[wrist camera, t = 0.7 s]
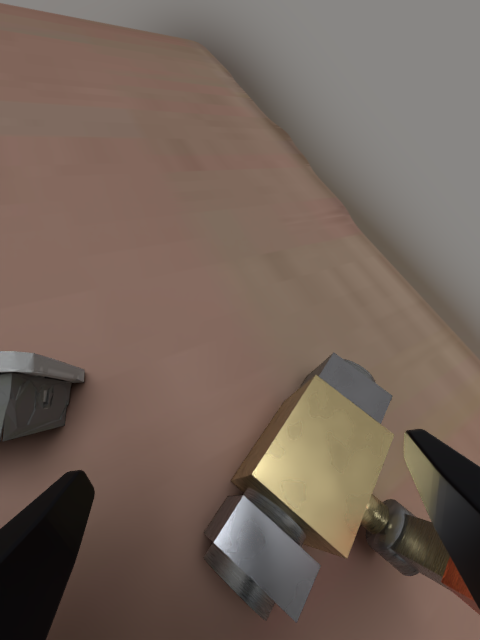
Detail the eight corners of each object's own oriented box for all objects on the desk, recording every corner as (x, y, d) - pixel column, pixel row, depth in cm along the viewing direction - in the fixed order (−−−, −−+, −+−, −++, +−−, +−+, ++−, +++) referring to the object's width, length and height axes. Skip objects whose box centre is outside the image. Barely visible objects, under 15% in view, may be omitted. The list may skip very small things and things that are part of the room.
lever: (387, 564, 18) (797, 831, 5) (358, 539, 18) (678, 734, 6) (407, 518, 19) (784, 651, 6) (379, 495, 19) (685, 579, 7)
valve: (298, 649, 16) (358, 718, 11) (189, 541, 17) (198, 558, 12) (387, 428, 24) (446, 409, 19) (307, 366, 25) (341, 333, 20)
